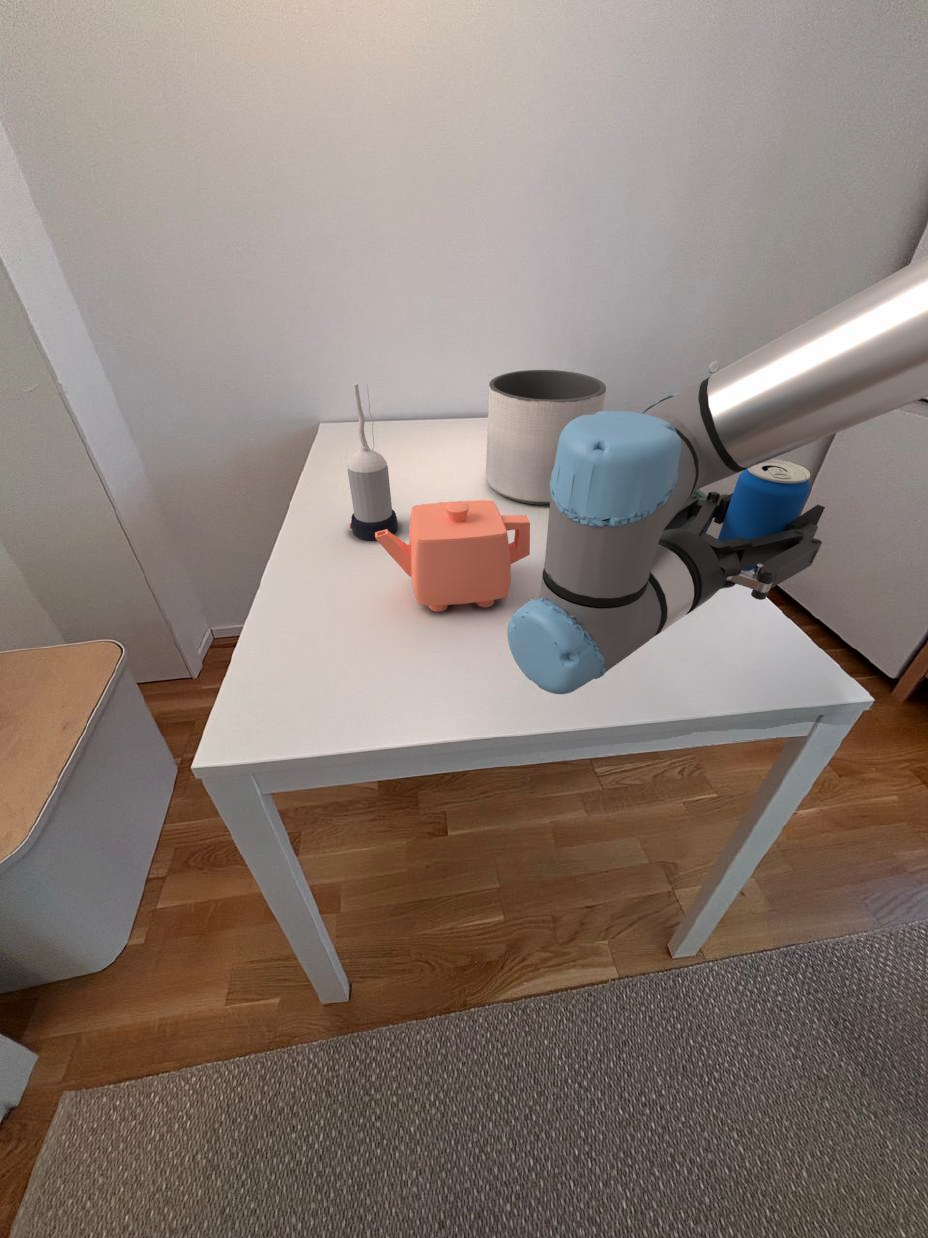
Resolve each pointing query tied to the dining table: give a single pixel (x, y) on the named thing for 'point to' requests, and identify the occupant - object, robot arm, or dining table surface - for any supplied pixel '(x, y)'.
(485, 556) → the teapot
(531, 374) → the planter
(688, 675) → the dining table surface
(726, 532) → the beverage can
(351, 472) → the humidifier
